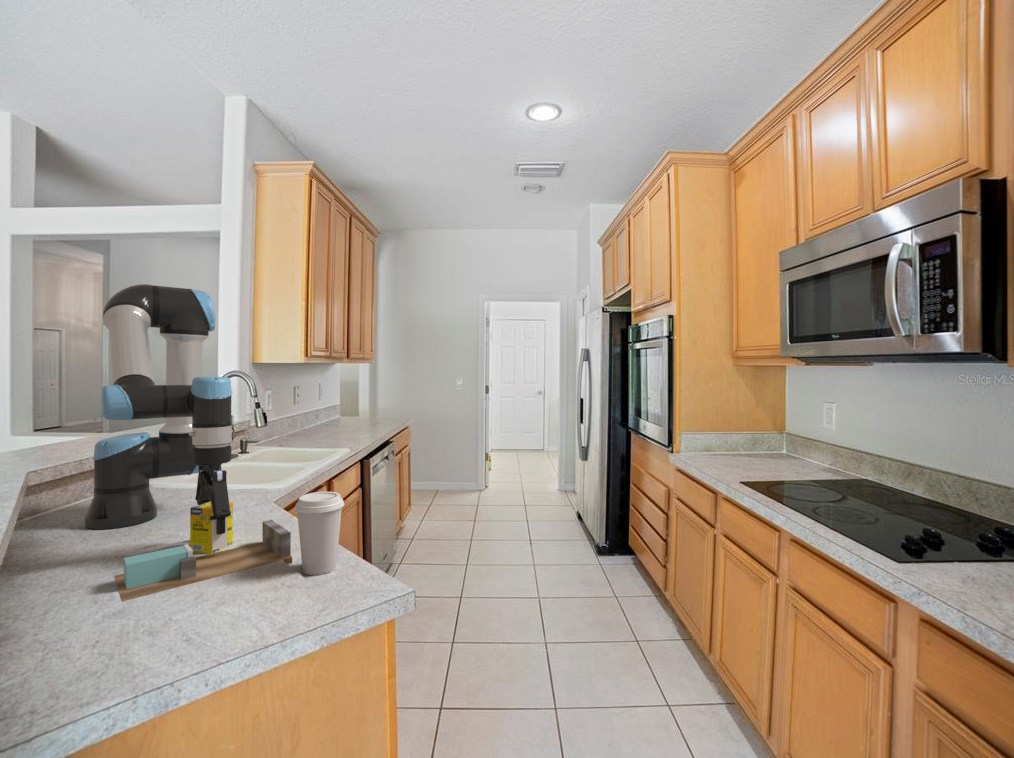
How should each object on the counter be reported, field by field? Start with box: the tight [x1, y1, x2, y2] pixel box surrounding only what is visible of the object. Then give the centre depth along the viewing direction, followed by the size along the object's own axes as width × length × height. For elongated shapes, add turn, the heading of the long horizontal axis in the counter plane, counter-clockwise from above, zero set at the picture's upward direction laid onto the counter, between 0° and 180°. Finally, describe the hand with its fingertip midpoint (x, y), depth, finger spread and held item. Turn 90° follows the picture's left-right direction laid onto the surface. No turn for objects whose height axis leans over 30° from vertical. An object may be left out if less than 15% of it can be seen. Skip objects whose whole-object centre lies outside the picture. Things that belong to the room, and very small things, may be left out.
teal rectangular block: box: [123, 543, 194, 589], centre depth 88 cm, size 5×10×5 cm, turn 134°
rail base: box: [114, 519, 293, 602], centre depth 94 cm, size 14×28×6 cm, turn 134°
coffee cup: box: [294, 491, 345, 576], centre depth 96 cm, size 10×10×15 cm
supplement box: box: [189, 501, 234, 554], centre depth 104 cm, size 6×6×11 cm
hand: (211, 540), depth 104 cm, fingers open, 13 cm apart
